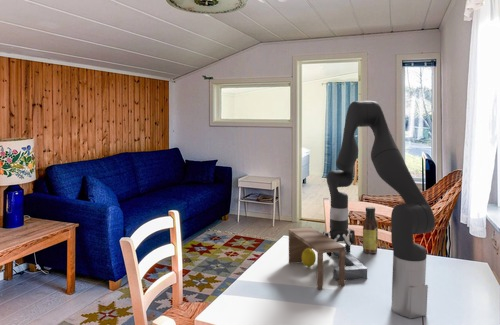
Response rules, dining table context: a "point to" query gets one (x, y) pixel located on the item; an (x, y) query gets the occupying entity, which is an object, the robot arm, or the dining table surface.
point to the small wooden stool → (320, 244)
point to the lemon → (308, 257)
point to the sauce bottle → (370, 232)
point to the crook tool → (350, 268)
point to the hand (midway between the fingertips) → (338, 254)
